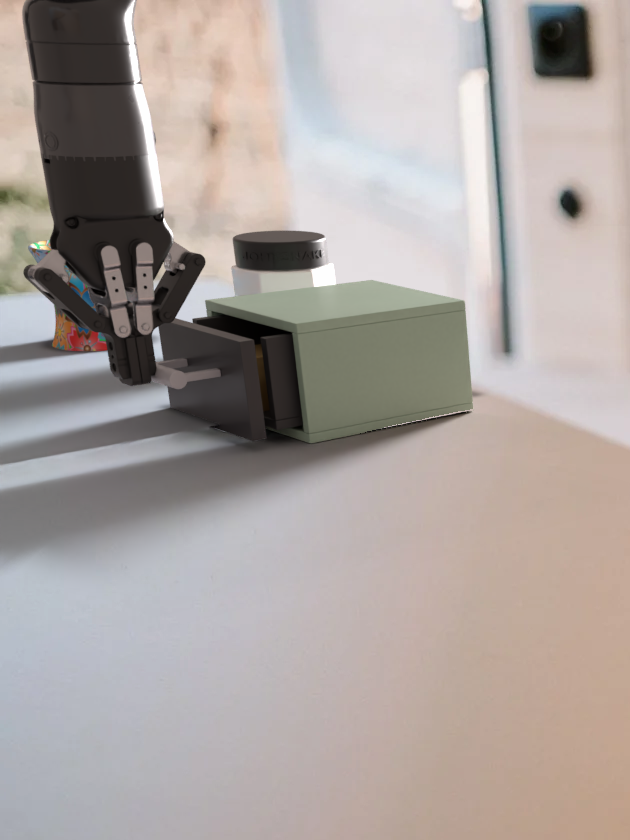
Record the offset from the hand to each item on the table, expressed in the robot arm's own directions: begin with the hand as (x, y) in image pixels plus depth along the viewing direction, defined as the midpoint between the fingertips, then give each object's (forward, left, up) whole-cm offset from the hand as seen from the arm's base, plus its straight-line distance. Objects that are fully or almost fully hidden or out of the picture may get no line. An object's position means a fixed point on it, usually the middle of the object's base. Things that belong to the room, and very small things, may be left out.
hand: (135, 383), depth 123 cm
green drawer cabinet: (+18, 0, -5) cm, 19 cm away
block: (+11, 0, -3) cm, 11 cm away
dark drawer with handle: (+11, 0, -4) cm, 11 cm away
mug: (+15, +34, -6) cm, 38 cm away
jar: (+25, +20, -6) cm, 32 cm away
